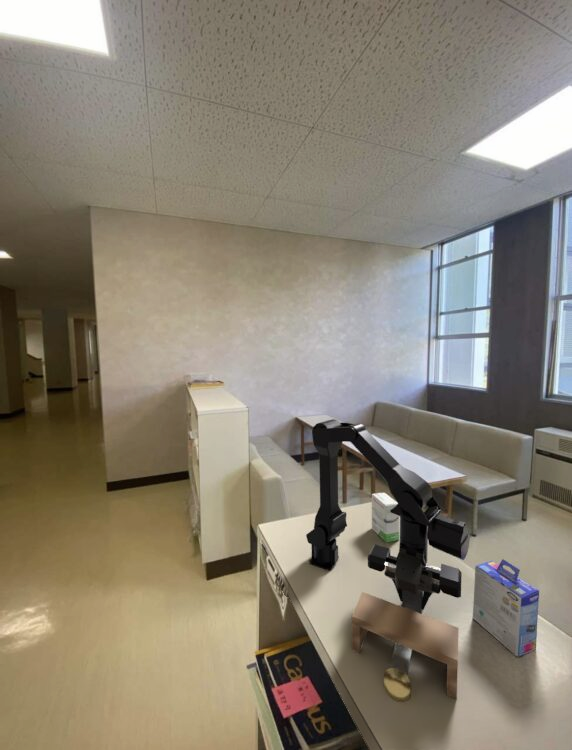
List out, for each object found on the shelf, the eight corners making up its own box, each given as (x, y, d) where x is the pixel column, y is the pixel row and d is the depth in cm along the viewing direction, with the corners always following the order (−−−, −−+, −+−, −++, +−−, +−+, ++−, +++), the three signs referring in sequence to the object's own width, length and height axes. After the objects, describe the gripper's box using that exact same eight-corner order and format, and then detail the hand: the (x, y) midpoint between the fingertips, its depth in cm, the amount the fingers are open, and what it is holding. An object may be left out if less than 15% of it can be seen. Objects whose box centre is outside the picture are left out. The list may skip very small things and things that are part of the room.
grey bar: (388, 665, 58) (388, 629, 57) (405, 598, 73) (405, 570, 73) (411, 676, 56) (411, 639, 55) (423, 605, 71) (424, 576, 71)
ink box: (399, 540, 96) (400, 503, 95) (385, 543, 94) (385, 505, 94) (384, 525, 104) (384, 491, 103) (370, 528, 103) (370, 493, 102)
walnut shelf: (352, 649, 61) (352, 616, 61) (362, 622, 67) (362, 591, 67) (456, 699, 52) (457, 660, 52) (457, 662, 58) (458, 627, 58)
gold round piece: (381, 695, 53) (381, 687, 53) (386, 671, 57) (386, 663, 57) (409, 708, 51) (409, 699, 51) (411, 682, 55) (412, 675, 55)
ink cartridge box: (538, 650, 60) (541, 579, 59) (519, 660, 59) (522, 587, 57) (489, 610, 70) (491, 548, 69) (471, 618, 68) (473, 554, 67)
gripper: (360, 544, 66) (360, 613, 67) (461, 575, 57) (459, 654, 58) (374, 519, 76) (373, 580, 77) (462, 542, 66) (460, 611, 68)
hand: (412, 604), depth 70 cm, fingers closed on grey bar, 4 cm apart
